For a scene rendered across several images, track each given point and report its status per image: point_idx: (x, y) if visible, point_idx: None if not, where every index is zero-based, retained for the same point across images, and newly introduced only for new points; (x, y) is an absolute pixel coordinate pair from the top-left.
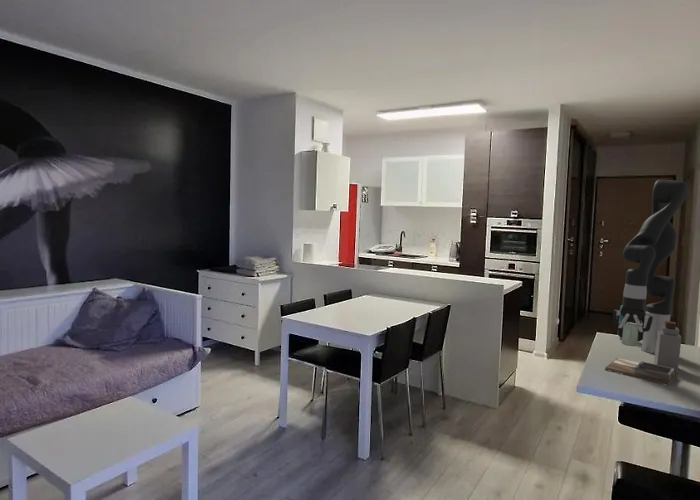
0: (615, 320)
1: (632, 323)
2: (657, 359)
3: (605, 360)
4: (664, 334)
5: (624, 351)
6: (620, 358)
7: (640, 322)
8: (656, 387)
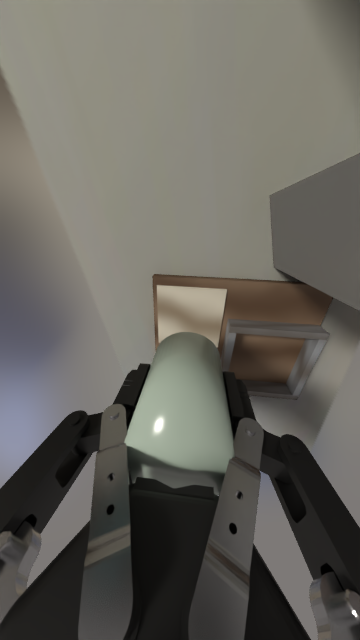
0: (66, 481)
1: (176, 454)
2: (286, 268)
3: (131, 306)
4: None
5: (130, 54)
6: (161, 278)
7: (243, 497)
8: (259, 413)
